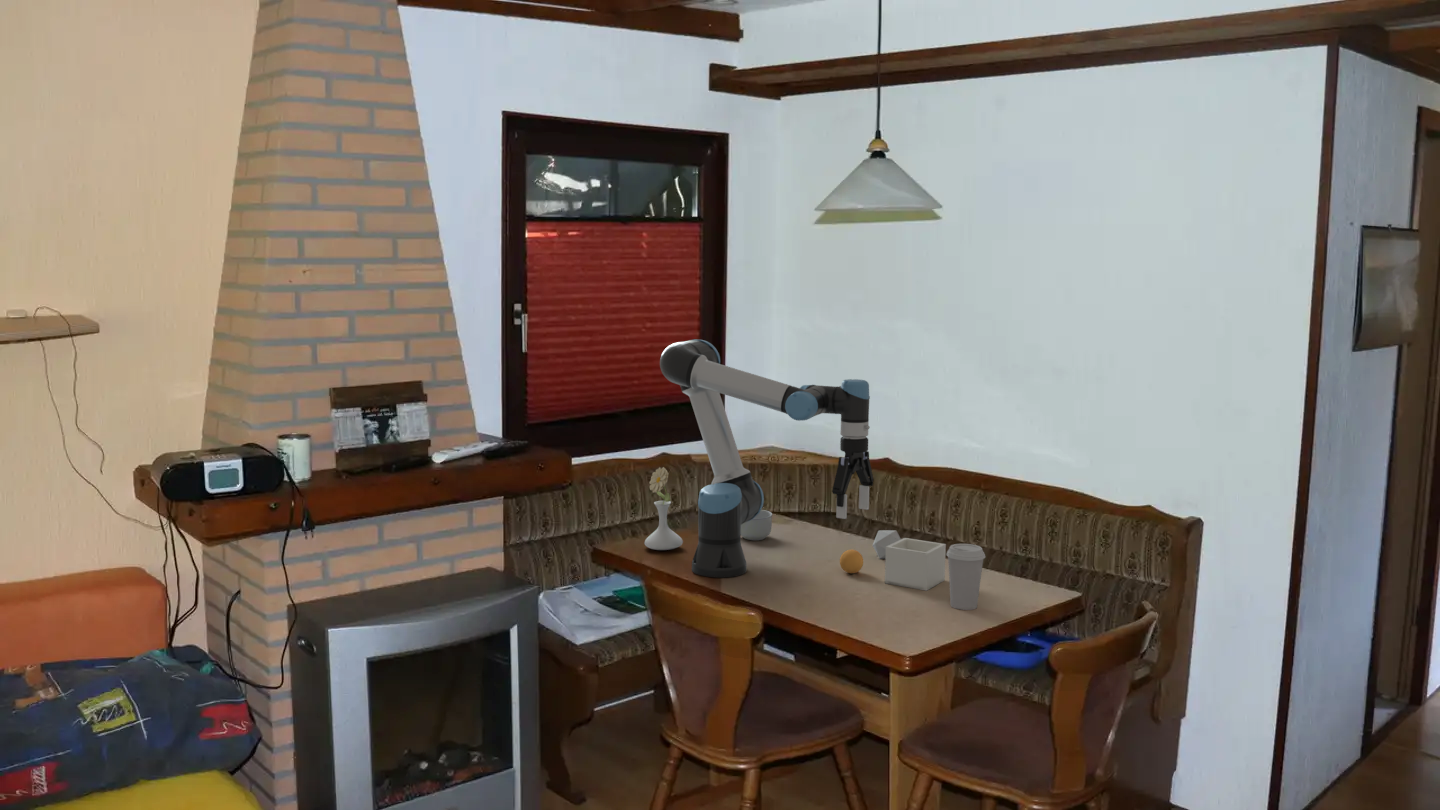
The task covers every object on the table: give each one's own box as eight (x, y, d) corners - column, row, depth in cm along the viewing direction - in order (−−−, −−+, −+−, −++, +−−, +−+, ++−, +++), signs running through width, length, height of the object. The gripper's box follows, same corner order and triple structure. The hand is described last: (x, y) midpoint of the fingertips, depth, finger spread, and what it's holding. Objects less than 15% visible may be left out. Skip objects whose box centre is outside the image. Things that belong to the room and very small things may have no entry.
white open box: (926, 590, 306) (927, 553, 305) (884, 583, 313) (885, 546, 311) (944, 580, 316) (945, 544, 315) (903, 573, 323) (904, 537, 321)
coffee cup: (936, 603, 295) (938, 545, 293) (965, 598, 300) (967, 541, 298) (962, 614, 287) (964, 554, 285) (991, 608, 292) (993, 549, 290)
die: (901, 556, 343) (883, 528, 345) (913, 548, 336) (895, 519, 338) (880, 569, 340) (862, 540, 342) (892, 561, 332) (873, 532, 334)
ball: (856, 577, 318) (857, 554, 317) (835, 573, 322) (835, 550, 321) (867, 572, 323) (867, 549, 323) (846, 568, 327) (846, 545, 326)
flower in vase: (641, 544, 351) (639, 462, 347) (679, 541, 353) (676, 460, 350) (648, 556, 338) (646, 471, 335) (687, 553, 341) (685, 468, 337)
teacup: (778, 537, 362) (778, 511, 361) (760, 544, 353) (760, 518, 352) (739, 531, 370) (739, 506, 368) (721, 537, 360) (721, 512, 359)
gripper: (845, 444, 305) (844, 523, 308) (886, 432, 326) (884, 507, 329) (820, 441, 309) (819, 520, 312) (862, 429, 330) (860, 503, 333)
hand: (852, 513), depth 320 cm, fingers open, 13 cm apart
